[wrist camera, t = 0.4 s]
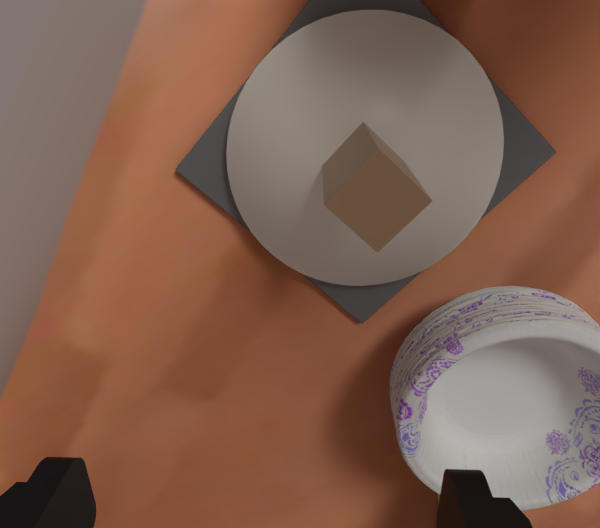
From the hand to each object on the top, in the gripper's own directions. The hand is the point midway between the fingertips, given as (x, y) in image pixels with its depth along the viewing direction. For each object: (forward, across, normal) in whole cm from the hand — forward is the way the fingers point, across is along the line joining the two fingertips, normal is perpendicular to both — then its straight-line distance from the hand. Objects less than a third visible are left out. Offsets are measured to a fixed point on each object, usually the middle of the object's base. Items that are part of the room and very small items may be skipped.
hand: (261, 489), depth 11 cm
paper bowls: (+24, -14, +13) cm, 31 cm away
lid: (+23, -4, -2) cm, 24 cm away
